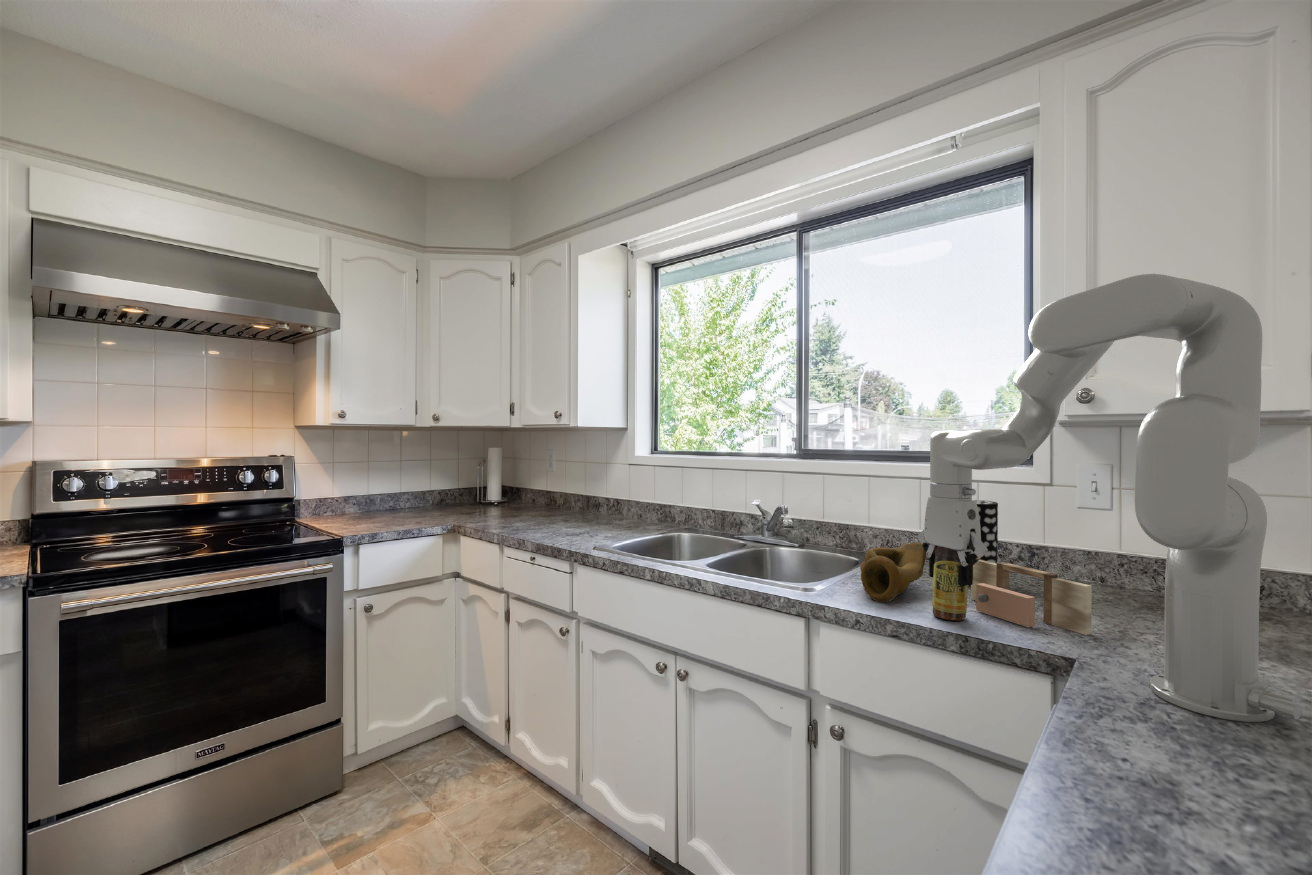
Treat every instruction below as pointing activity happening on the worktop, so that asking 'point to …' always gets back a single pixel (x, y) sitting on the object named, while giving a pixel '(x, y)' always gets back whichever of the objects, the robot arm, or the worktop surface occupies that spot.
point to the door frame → (1061, 597)
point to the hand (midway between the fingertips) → (950, 579)
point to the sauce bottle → (948, 586)
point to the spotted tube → (989, 529)
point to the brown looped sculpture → (891, 570)
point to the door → (1005, 604)
